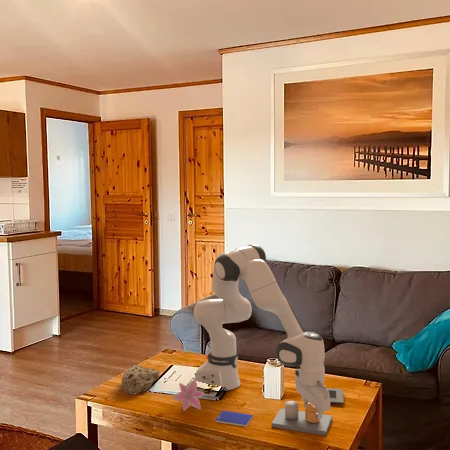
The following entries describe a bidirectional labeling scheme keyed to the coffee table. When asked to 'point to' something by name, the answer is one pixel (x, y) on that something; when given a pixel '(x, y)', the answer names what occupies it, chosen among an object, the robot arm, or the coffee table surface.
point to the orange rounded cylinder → (311, 413)
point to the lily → (189, 395)
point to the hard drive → (234, 418)
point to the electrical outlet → (336, 395)
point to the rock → (138, 379)
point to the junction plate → (300, 420)
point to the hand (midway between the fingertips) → (312, 412)
